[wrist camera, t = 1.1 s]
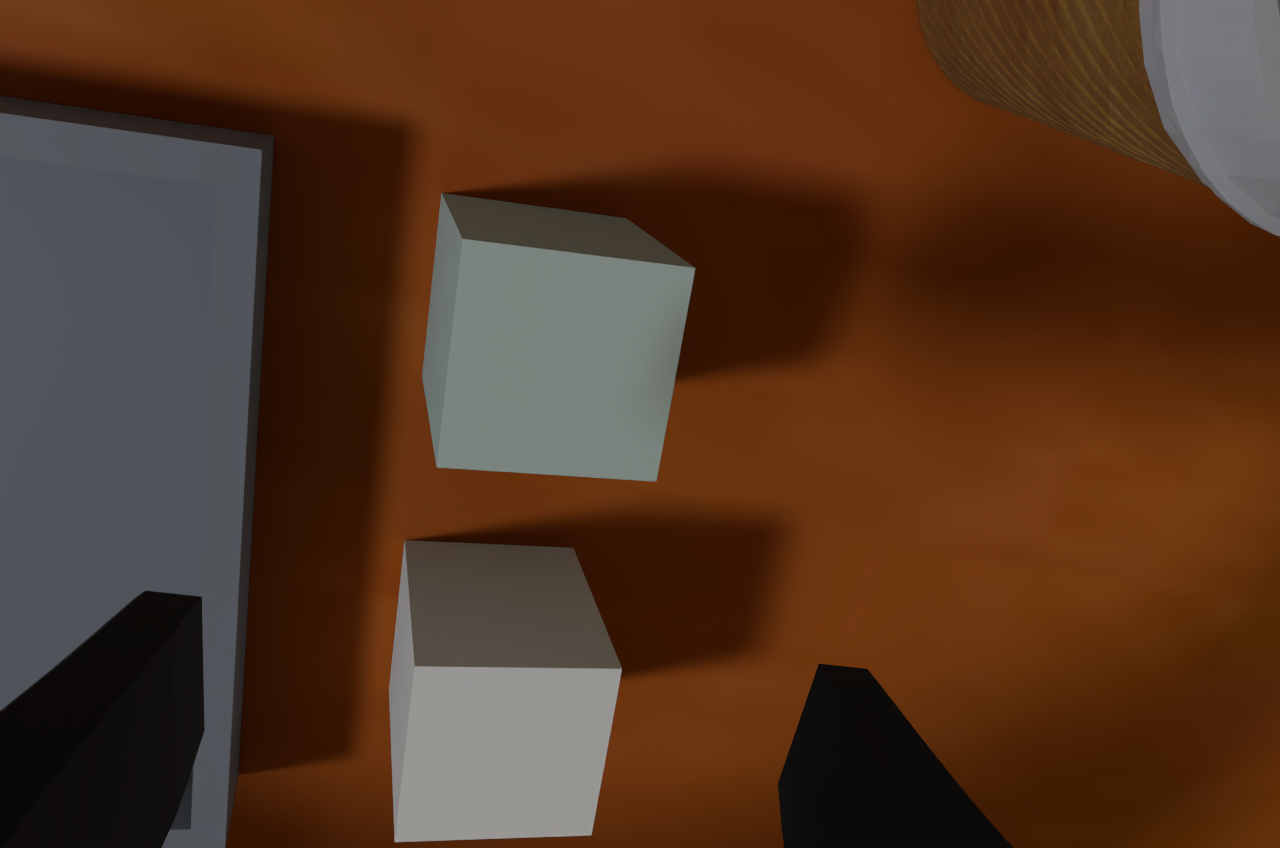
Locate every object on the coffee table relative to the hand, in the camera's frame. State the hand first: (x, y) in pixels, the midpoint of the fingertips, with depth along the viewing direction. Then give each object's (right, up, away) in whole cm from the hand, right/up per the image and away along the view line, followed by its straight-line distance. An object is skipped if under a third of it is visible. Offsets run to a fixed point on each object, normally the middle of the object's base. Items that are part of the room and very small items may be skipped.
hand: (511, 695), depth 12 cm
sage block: (-1, +6, +14) cm, 15 cm away
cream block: (-3, -2, +16) cm, 17 cm away
